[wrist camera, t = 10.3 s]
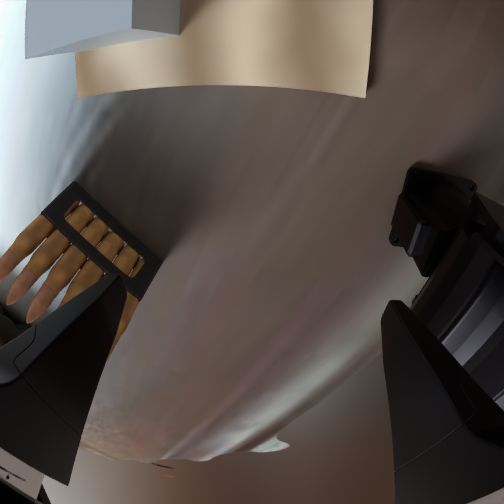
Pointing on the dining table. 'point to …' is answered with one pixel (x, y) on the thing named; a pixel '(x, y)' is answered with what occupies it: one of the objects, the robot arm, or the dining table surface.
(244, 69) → the stub board
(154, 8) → the pale grey cube
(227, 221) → the dining table surface
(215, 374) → the dining table surface
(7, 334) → the stone bowl
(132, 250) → the ammunition clip
